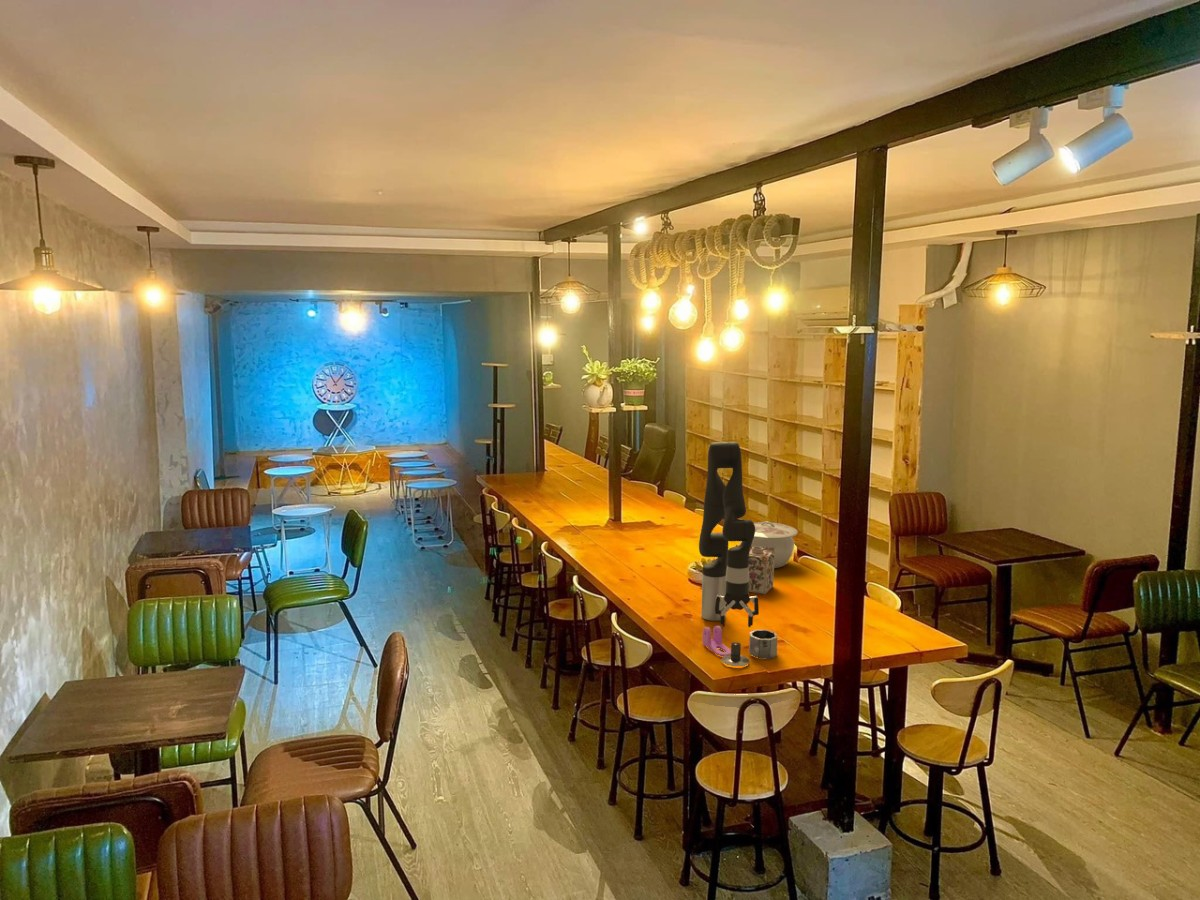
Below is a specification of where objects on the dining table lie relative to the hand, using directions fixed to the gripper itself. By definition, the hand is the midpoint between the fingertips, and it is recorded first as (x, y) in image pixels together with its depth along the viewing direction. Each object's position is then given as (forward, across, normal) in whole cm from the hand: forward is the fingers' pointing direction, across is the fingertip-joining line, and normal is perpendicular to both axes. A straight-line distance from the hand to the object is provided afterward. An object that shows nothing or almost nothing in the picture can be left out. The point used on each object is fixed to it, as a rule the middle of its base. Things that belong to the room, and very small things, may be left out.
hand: (736, 626), depth 275 cm
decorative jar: (+12, -15, -77) cm, 80 cm away
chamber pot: (+12, -23, -112) cm, 115 cm away
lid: (+13, 0, 0) cm, 13 cm away
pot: (+13, -10, -8) cm, 18 cm away
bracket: (+13, +5, -10) cm, 17 cm away
